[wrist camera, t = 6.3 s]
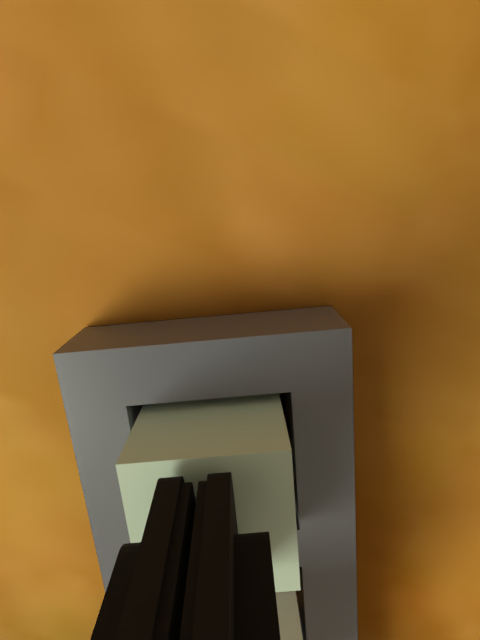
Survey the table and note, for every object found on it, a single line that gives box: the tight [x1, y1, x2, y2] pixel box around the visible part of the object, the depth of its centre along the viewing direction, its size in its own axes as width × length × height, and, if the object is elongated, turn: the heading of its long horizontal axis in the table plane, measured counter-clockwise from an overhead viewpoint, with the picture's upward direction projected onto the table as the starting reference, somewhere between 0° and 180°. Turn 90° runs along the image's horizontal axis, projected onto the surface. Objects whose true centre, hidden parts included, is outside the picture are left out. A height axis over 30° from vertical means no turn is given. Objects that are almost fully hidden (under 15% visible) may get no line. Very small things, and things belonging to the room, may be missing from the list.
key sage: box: [116, 393, 301, 592], centre depth 12 cm, size 4×4×4 cm
